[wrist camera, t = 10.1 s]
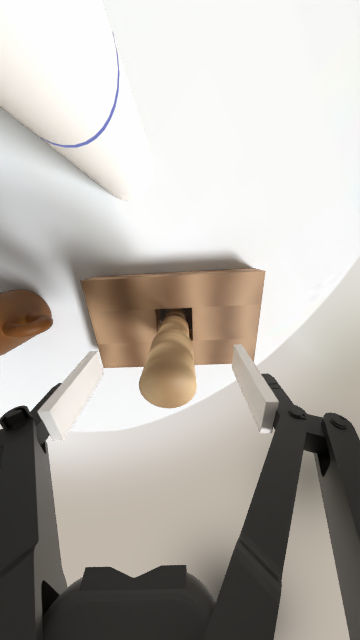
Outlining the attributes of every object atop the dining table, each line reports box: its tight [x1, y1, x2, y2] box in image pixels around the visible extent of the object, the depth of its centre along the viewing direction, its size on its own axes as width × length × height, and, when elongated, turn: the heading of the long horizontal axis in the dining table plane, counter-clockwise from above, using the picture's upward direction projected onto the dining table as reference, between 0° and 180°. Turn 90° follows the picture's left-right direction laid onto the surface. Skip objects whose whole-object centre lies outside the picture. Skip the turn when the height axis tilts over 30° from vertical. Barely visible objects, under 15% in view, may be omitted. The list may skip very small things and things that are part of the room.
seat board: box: [81, 268, 265, 368], centre depth 27 cm, size 24×14×4 cm, turn 93°
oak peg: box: [139, 308, 196, 408], centre depth 21 cm, size 5×5×16 cm
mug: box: [0, 290, 53, 356], centre depth 24 cm, size 12×8×9 cm, turn 94°
